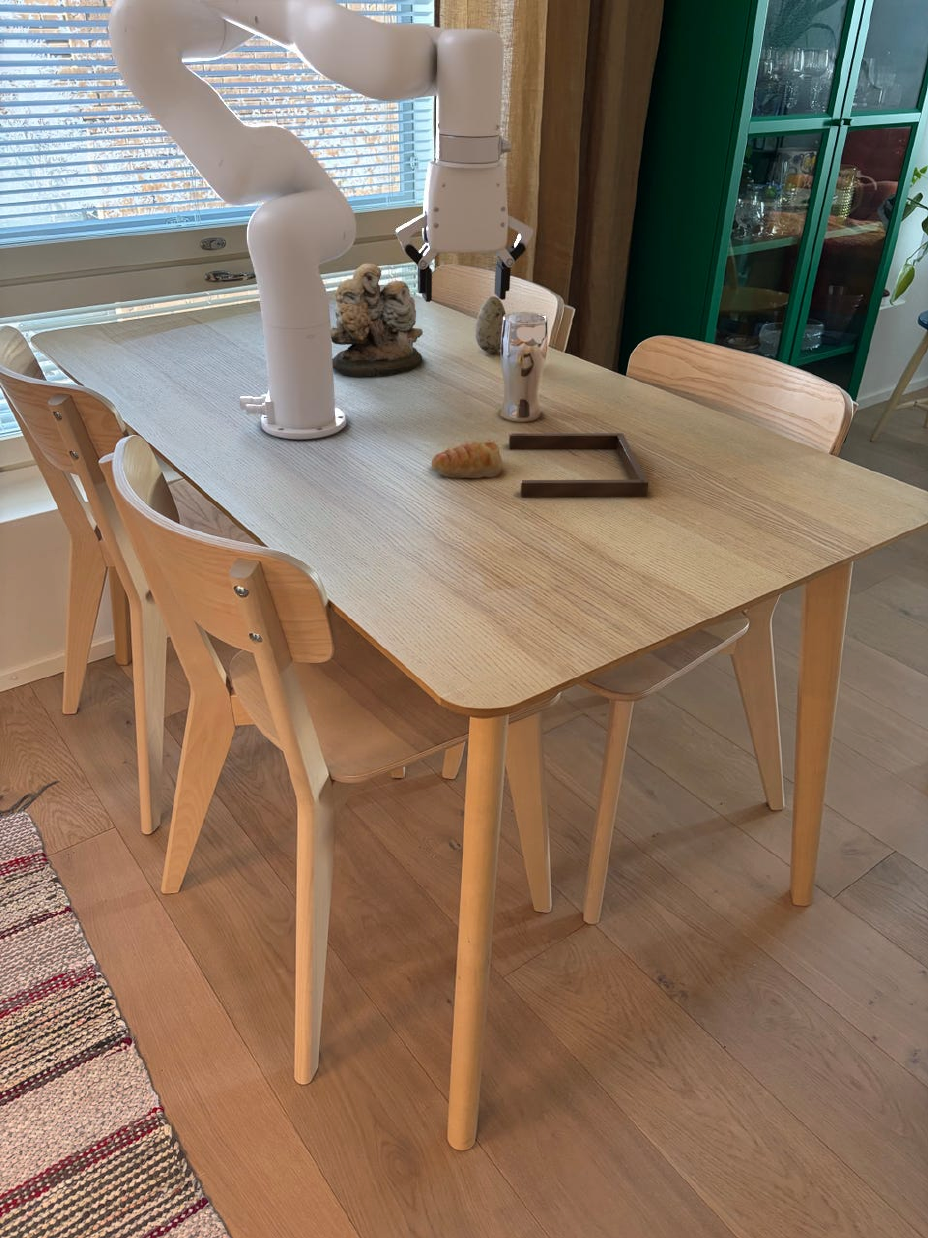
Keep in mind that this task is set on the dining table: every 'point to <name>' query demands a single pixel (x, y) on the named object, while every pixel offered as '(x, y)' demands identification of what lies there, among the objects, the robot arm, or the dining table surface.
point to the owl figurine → (374, 326)
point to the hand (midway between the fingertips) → (463, 297)
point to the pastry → (469, 460)
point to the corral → (582, 487)
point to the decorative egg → (490, 325)
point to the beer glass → (522, 364)
